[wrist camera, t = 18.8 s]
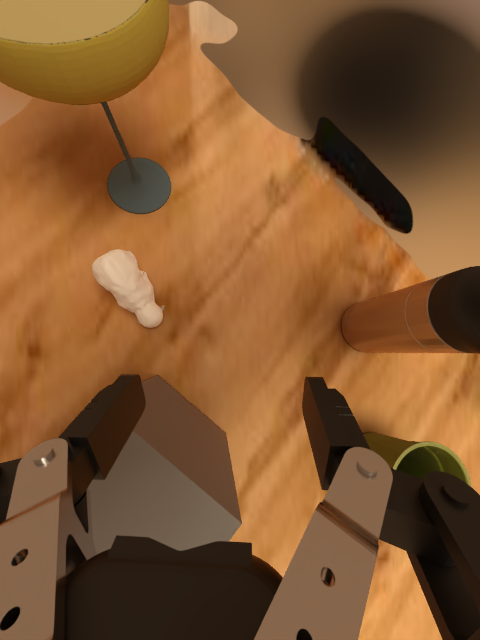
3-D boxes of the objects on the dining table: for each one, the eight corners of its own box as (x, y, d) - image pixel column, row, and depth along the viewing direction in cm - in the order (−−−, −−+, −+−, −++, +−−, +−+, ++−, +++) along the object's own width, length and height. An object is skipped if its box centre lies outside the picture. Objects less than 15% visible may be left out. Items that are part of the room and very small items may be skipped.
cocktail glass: (140, 123, 43) (45, -183, 18) (211, 189, 43) (212, -29, 18) (62, 183, 40) (-182, -92, 15) (139, 254, 40) (21, 95, 15)
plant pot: (391, 500, 39) (462, 559, 28) (329, 475, 39) (377, 525, 27) (409, 432, 41) (482, 461, 30) (351, 407, 41) (403, 428, 30)
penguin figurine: (120, 236, 31) (170, 311, 31) (137, 257, 39) (176, 316, 40) (76, 260, 30) (129, 337, 30) (103, 276, 38) (144, 336, 39)
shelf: (225, 432, 37) (241, 523, 18) (101, 592, 33) (-67, 960, 13) (158, 374, 37) (98, 401, 18) (23, 525, 32) (-266, 794, 13)
